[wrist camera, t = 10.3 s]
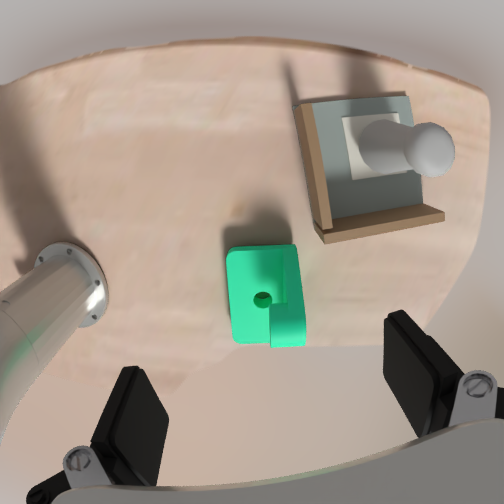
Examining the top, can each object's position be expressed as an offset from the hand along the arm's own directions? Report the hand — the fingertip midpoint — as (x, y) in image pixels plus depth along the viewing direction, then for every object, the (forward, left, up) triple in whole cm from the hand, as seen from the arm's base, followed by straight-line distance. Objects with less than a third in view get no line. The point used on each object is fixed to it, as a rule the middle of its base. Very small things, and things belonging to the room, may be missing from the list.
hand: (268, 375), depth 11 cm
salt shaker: (+14, +6, -25) cm, 29 cm away
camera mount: (-1, -9, -26) cm, 27 cm away
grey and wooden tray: (+13, +5, -25) cm, 29 cm away
